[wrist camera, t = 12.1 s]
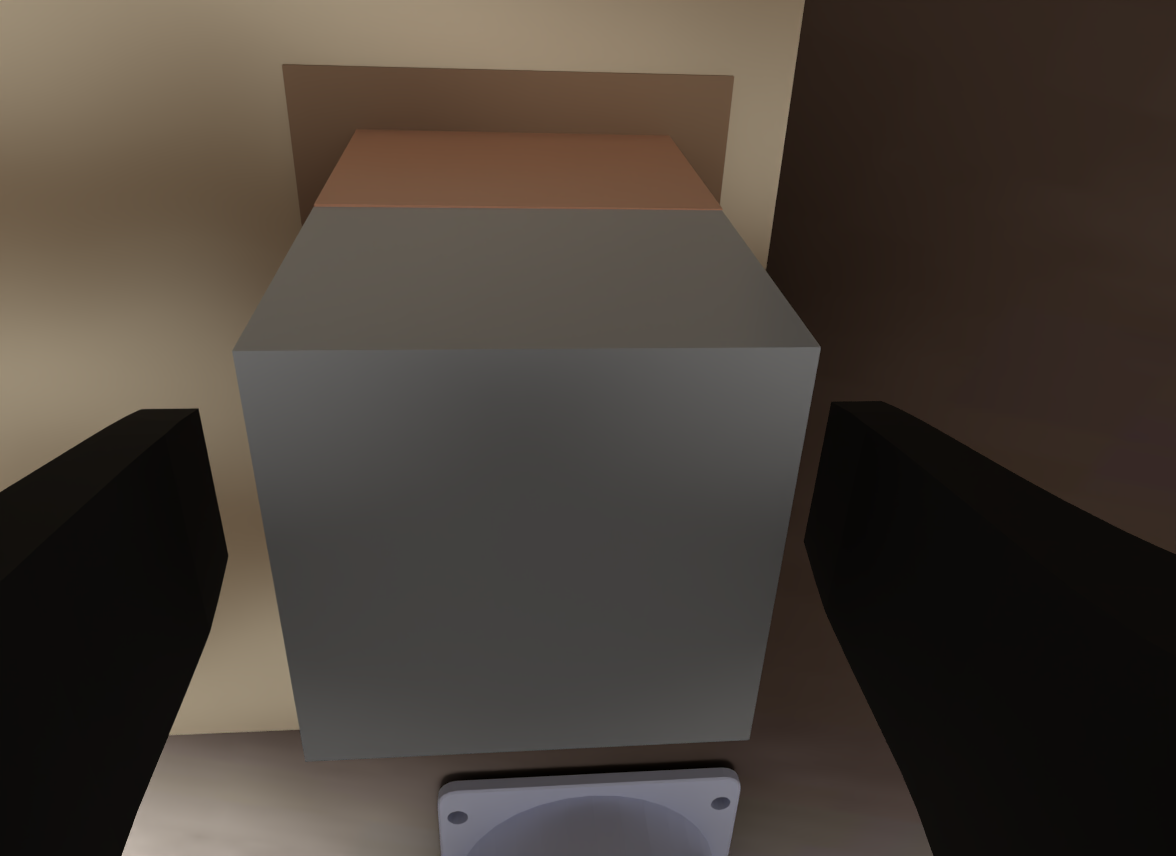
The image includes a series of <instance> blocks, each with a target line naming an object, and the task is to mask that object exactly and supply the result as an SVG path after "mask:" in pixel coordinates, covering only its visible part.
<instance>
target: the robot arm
mask: <svg viewBox="0 0 1176 856" xmlns="http://www.w3.org/2000/svg"><path fill="white" fill-rule="evenodd" d="M804 543H805V547H806V550H807V554H808V557H809V561H810V564H811V568H812V571H813V575H814V578H815V581H816V585H817V588H818V591H819V594H820V597H821V600H822V603H823V606H824V609H825V612H826V614H827V617H828V619H829V621H830V623H831V626H832V628H833V630H834V632H835V634H836V636H837V639H838V641H839V643H840V645H841V647H842V649H843V651H844V654H845V656H846V658H847V660H848V662H849V664H850V666H851V669H852V671H853V673H854V675H855V677H856V679H857V681H858V683H859V685H860V687H861V689H862V691H863V694H864V696H865V698H866V700H867V702H868V704H869V706H870V708H871V710H872V712H873V714H874V716H875V719H876V721H877V723H878V725H879V727H880V729H881V731H882V733H883V735H884V737H885V739H886V742H887V744H888V746H889V748H890V750H891V752H892V754H893V756H894V758H895V760H896V762H897V765H898V767H899V769H900V771H901V773H902V775H903V778H904V780H905V782H906V785H907V787H908V789H909V792H910V794H911V797H912V799H913V801H914V804H915V806H916V808H917V811H918V813H919V816H920V819H921V822H922V825H923V828H924V830H925V833H926V836H927V839H928V842H929V845H930V847H931V850H932V853H933V856H1176V554H1174V553H1171V552H1169V551H1167V550H1164V549H1162V548H1160V547H1157V546H1155V545H1153V544H1151V543H1149V542H1147V541H1144V540H1142V539H1140V538H1138V537H1136V536H1134V535H1132V534H1129V533H1127V532H1125V531H1123V530H1121V529H1119V528H1117V527H1115V526H1113V525H1111V524H1109V523H1107V522H1105V521H1103V520H1101V519H1099V518H1097V517H1095V516H1093V515H1091V514H1090V513H1088V512H1086V511H1084V510H1082V509H1080V508H1078V507H1076V506H1074V505H1072V504H1070V503H1068V502H1066V501H1064V500H1062V499H1060V498H1058V497H1057V496H1055V495H1053V494H1051V493H1049V492H1047V491H1045V490H1044V489H1042V488H1040V487H1038V486H1036V485H1034V484H1033V483H1031V482H1029V481H1027V480H1025V479H1024V478H1022V477H1020V476H1018V475H1016V474H1015V473H1013V472H1011V471H1009V470H1008V469H1006V468H1004V467H1002V466H1001V465H999V464H997V463H995V462H994V461H992V460H990V459H988V458H987V457H985V456H983V455H981V454H980V453H978V452H976V451H974V450H973V449H971V448H969V447H967V446H966V445H964V444H962V443H960V442H959V441H957V440H955V439H954V438H952V437H950V436H948V435H947V434H945V433H943V432H941V431H940V430H938V429H936V428H934V427H932V426H931V425H929V424H927V423H925V422H923V421H922V420H920V419H918V418H916V417H914V416H912V415H910V414H908V413H906V412H905V411H902V410H900V409H898V408H896V407H894V406H892V405H889V404H887V403H885V402H882V401H861V402H831V407H830V412H829V417H828V422H827V427H826V432H825V437H824V442H823V447H822V452H821V457H820V462H819V468H818V473H817V478H816V483H815V488H814V493H813V498H812V503H811V508H810V513H809V518H808V523H807V528H806V533H805V538H804ZM228 557H229V556H228V551H227V546H226V541H225V536H224V531H223V526H222V521H221V516H220V511H219V506H218V502H217V497H216V492H215V487H214V482H213V477H212V472H211V467H210V462H209V457H208V452H207V448H206V443H205V438H204V433H203V428H202V423H201V418H200V413H199V408H190V409H140V410H138V411H136V412H134V413H132V414H130V415H127V416H125V417H124V418H122V419H120V420H118V421H116V422H114V423H113V424H111V425H109V426H107V427H106V428H104V429H102V430H101V431H99V432H97V433H96V434H94V435H92V436H91V437H89V438H87V439H86V440H84V441H82V442H81V443H79V444H77V445H76V446H74V447H73V448H71V449H69V450H68V451H66V452H65V453H63V454H61V455H60V456H58V457H56V458H55V459H53V460H52V461H50V462H48V463H47V464H45V465H43V466H42V467H40V468H38V469H37V470H35V471H34V472H32V473H30V474H29V475H27V476H25V477H24V478H22V479H20V480H19V481H17V482H16V483H14V484H12V485H11V486H9V487H7V488H6V489H4V490H3V491H1V492H0V856H122V853H123V850H124V847H125V844H126V841H127V839H128V836H129V833H130V830H131V828H132V825H133V822H134V819H135V816H136V814H137V811H138V809H139V806H140V804H141V801H142V799H143V796H144V794H145V792H146V789H147V787H148V784H149V782H150V779H151V777H152V774H153V772H154V770H155V767H156V765H157V762H158V760H159V757H160V755H161V753H162V750H163V748H164V745H165V743H166V740H167V738H168V736H169V733H170V731H171V728H172V726H173V723H174V721H175V719H176V716H177V714H178V711H179V709H180V707H181V704H182V702H183V699H184V697H185V694H186V692H187V689H188V687H189V684H190V682H191V679H192V677H193V674H194V672H195V669H196V667H197V664H198V662H199V659H200V657H201V654H202V652H203V649H204V647H205V644H206V642H207V639H208V636H209V634H210V631H211V627H212V623H213V619H214V615H215V612H216V608H217V604H218V600H219V596H220V592H221V587H222V583H223V578H224V574H225V570H226V565H227V561H228ZM740 790H741V787H740V781H739V778H738V774H737V773H736V772H735V771H734V770H732V769H729V768H723V767H719V768H699V769H679V770H659V771H639V772H619V773H600V774H580V775H560V776H540V777H520V778H500V779H481V780H461V781H453V782H449V783H447V784H445V785H443V786H442V787H441V789H440V790H439V793H438V818H439V833H440V847H441V856H728V854H729V849H730V844H731V838H732V833H733V827H734V822H735V817H736V811H737V806H738V801H739V795H740Z"/></svg>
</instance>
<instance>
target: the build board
mask: <svg viewBox="0 0 1176 856" xmlns="http://www.w3.org/2000/svg"><path fill="white" fill-rule="evenodd" d="M804 3H805V0H0V492H1V491H3V490H4V489H6V488H7V487H9V486H11V485H12V484H14V483H16V482H17V481H19V480H20V479H22V478H24V477H25V476H27V475H29V474H30V473H32V472H34V471H35V470H37V469H38V468H40V467H42V466H43V465H45V464H47V463H48V462H50V461H52V460H53V459H55V458H56V457H58V456H60V455H61V454H63V453H65V452H66V451H68V450H69V449H71V448H73V447H74V446H76V445H77V444H79V443H81V442H82V441H84V440H86V439H87V438H89V437H91V436H92V435H94V434H96V433H97V432H99V431H101V430H102V429H104V428H106V427H107V426H109V425H111V424H113V423H114V422H116V421H118V420H120V419H122V418H124V417H125V416H127V415H130V414H132V413H134V412H136V411H138V410H140V409H190V408H199V413H200V418H201V423H202V428H203V433H204V438H205V443H206V448H207V452H208V457H209V462H210V467H211V472H212V477H213V482H214V487H215V492H216V497H217V502H218V506H219V511H220V516H221V521H222V526H223V531H224V536H225V541H226V546H227V551H228V556H229V557H228V561H227V565H226V570H225V574H224V578H223V583H222V587H221V592H220V596H219V600H218V604H217V608H216V612H215V615H214V619H213V623H212V627H211V631H210V634H209V636H208V639H207V642H206V644H205V647H204V649H203V652H202V654H201V657H200V659H199V662H198V664H197V667H196V669H195V672H194V674H193V677H192V679H191V682H190V684H189V687H188V689H187V692H186V694H185V697H184V699H183V702H182V704H181V707H180V709H179V711H178V714H177V716H176V719H175V721H174V723H173V726H172V728H171V731H170V733H169V735H186V734H209V733H231V732H254V731H277V730H299V723H298V718H297V712H296V706H295V701H294V695H293V690H292V684H291V678H290V673H289V667H288V662H287V656H286V650H285V645H284V639H283V633H282V628H281V622H280V617H279V611H278V605H277V600H276V594H275V589H274V583H273V577H272V572H271V566H270V561H269V555H268V549H267V544H266V538H265V533H264V527H263V521H262V516H261V510H260V504H259V499H258V493H257V488H256V482H255V476H254V471H253V465H252V460H251V454H250V448H249V443H248V437H247V432H246V426H245V420H244V415H243V409H242V404H241V398H240V392H239V387H238V381H237V376H236V370H235V364H234V359H233V353H232V350H233V348H234V347H235V345H236V343H237V341H238V340H239V338H240V336H241V334H242V333H243V331H244V329H245V327H246V325H247V324H248V322H249V320H250V318H251V317H252V315H253V313H254V311H255V310H256V308H257V306H258V304H259V302H260V301H261V299H262V297H263V295H264V294H265V292H266V290H267V288H268V287H269V285H270V283H271V281H272V280H273V278H274V276H275V274H276V272H277V271H278V269H279V267H280V265H281V264H282V262H283V260H284V258H285V257H286V255H287V253H288V251H289V249H290V248H291V246H292V244H293V242H294V241H295V239H296V237H297V235H298V234H299V232H300V230H301V228H302V226H303V225H304V223H305V221H306V219H307V218H308V216H309V214H310V212H311V211H312V209H313V207H314V203H315V201H316V200H317V198H318V196H319V194H320V193H321V191H322V189H323V187H324V186H325V184H326V182H327V180H328V179H329V177H330V175H331V173H332V172H333V170H334V168H335V166H336V165H337V163H338V161H339V159H340V157H341V156H342V154H343V152H344V150H345V149H346V147H347V145H348V143H349V142H350V140H351V138H352V136H353V135H354V133H355V131H356V129H368V130H419V131H469V132H520V133H570V134H620V135H669V136H670V137H671V139H672V140H673V141H674V143H675V144H676V145H677V147H678V148H679V150H680V151H681V152H682V154H683V155H684V156H685V158H686V159H687V161H688V162H689V163H690V165H691V166H692V167H693V169H694V170H695V172H696V173H697V174H698V176H699V177H700V178H701V180H702V181H703V183H704V184H705V185H706V187H707V188H708V189H709V191H710V192H711V194H712V195H713V196H714V198H715V199H716V200H717V202H718V203H719V205H720V206H721V207H722V209H723V210H722V211H723V212H724V214H725V215H726V217H727V218H728V219H729V221H730V222H731V223H732V225H733V226H734V228H735V229H736V230H737V232H738V233H739V235H740V236H741V237H742V239H743V240H744V241H745V243H746V244H747V246H748V247H749V248H750V250H751V251H752V253H753V254H754V255H755V257H756V258H757V259H758V261H759V262H760V264H761V265H762V266H763V268H764V269H765V271H766V266H767V259H768V252H769V245H770V238H771V231H772V224H773V217H774V211H775V204H776V197H777V190H778V183H779V176H780V169H781V162H782V155H783V148H784V141H785V134H786V127H787V120H788V114H789V107H790V100H791V93H792V86H793V79H794V72H795V65H796V58H797V51H798V44H799V37H800V30H801V23H802V17H803V10H804Z"/></svg>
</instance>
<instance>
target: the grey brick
mask: <svg viewBox="0 0 1176 856" xmlns="http://www.w3.org/2000/svg"><path fill="white" fill-rule="evenodd" d="M820 349H821V347H820V345H819V344H818V343H817V341H816V340H815V338H814V337H813V336H812V334H811V333H810V331H809V330H808V329H807V327H806V326H805V325H804V323H803V322H802V320H801V319H800V318H799V316H798V315H797V313H796V312H795V311H794V309H793V308H792V307H791V305H790V304H789V302H788V301H787V300H786V298H785V297H784V295H783V294H782V293H781V291H780V290H779V289H778V287H777V286H776V284H775V283H774V282H773V280H772V279H771V277H770V276H769V275H768V273H767V272H766V271H765V269H764V268H763V266H762V265H761V264H760V262H759V261H758V259H757V258H756V257H755V255H754V254H753V253H752V251H751V250H750V248H749V247H748V246H747V244H746V243H745V241H744V240H743V239H742V237H741V236H740V235H739V233H738V232H737V230H736V229H735V228H734V226H733V225H732V223H731V222H730V221H729V219H728V218H727V217H726V215H725V214H724V212H723V211H722V210H640V209H525V208H409V207H313V209H312V211H311V212H310V214H309V216H308V218H307V219H306V221H305V223H304V225H303V226H302V228H301V230H300V232H299V234H298V235H297V237H296V239H295V241H294V242H293V244H292V246H291V248H290V249H289V251H288V253H287V255H286V257H285V258H284V260H283V262H282V264H281V265H280V267H279V269H278V271H277V272H276V274H275V276H274V278H273V280H272V281H271V283H270V285H269V287H268V288H267V290H266V292H265V294H264V295H263V297H262V299H261V301H260V302H259V304H258V306H257V308H256V310H255V311H254V313H253V315H252V317H251V318H250V320H249V322H248V324H247V325H246V327H245V329H244V331H243V333H242V334H241V336H240V338H239V340H238V341H237V343H236V345H235V347H234V348H233V350H232V353H233V359H234V364H235V370H236V376H237V381H238V387H239V392H240V398H241V404H242V409H243V415H244V420H245V426H246V432H247V437H248V443H249V448H250V454H251V460H252V465H253V471H254V476H255V482H256V488H257V493H258V499H259V504H260V510H261V516H262V521H263V527H264V533H265V538H266V544H267V549H268V555H269V561H270V566H271V572H272V577H273V583H274V589H275V594H276V600H277V605H278V611H279V617H280V622H281V628H282V633H283V639H284V645H285V650H286V656H287V662H288V667H289V673H290V678H291V684H292V690H293V695H294V701H295V706H296V712H297V718H298V723H299V729H300V734H301V740H302V746H303V751H304V757H305V762H308V761H329V760H349V759H370V758H390V757H411V756H431V755H451V754H472V753H492V752H513V751H533V750H554V749H574V748H595V747H615V746H635V745H656V744H676V743H697V742H717V741H738V740H749V738H750V733H751V727H752V722H753V716H754V711H755V705H756V700H757V694H758V689H759V683H760V678H761V672H762V667H763V661H764V656H765V650H766V645H767V640H768V634H769V629H770V623H771V618H772V612H773V607H774V601H775V596H776V590H777V585H778V579H779V574H780V568H781V563H782V557H783V552H784V546H785V541H786V536H787V530H788V525H789V519H790V514H791V508H792V503H793V497H794V492H795V486H796V481H797V475H798V470H799V464H800V459H801V453H802V448H803V443H804V437H805V432H806V426H807V421H808V415H809V410H810V404H811V399H812V393H813V388H814V382H815V377H816V371H817V366H818V360H819V355H820Z"/></svg>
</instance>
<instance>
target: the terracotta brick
mask: <svg viewBox="0 0 1176 856" xmlns="http://www.w3.org/2000/svg"><path fill="white" fill-rule="evenodd" d="M314 207H409V208H525V209H640V210H723V209H722V207H721V206H720V205H719V203H718V202H717V200H716V199H715V198H714V196H713V195H712V194H711V192H710V191H709V189H708V188H707V187H706V185H705V184H704V183H703V181H702V180H701V178H700V177H699V176H698V174H697V173H696V172H695V170H694V169H693V167H692V166H691V165H690V163H689V162H688V161H687V159H686V158H685V156H684V155H683V154H682V152H681V151H680V150H679V148H678V147H677V145H676V144H675V143H674V141H673V140H672V139H671V137H670V136H669V135H620V134H570V133H520V132H469V131H419V130H368V129H356V131H355V133H354V135H353V136H352V138H351V140H350V142H349V143H348V145H347V147H346V149H345V150H344V152H343V154H342V156H341V157H340V159H339V161H338V163H337V165H336V166H335V168H334V170H333V172H332V173H331V175H330V177H329V179H328V180H327V182H326V184H325V186H324V187H323V189H322V191H321V193H320V194H319V196H318V198H317V200H316V201H315V203H314Z"/></svg>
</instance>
